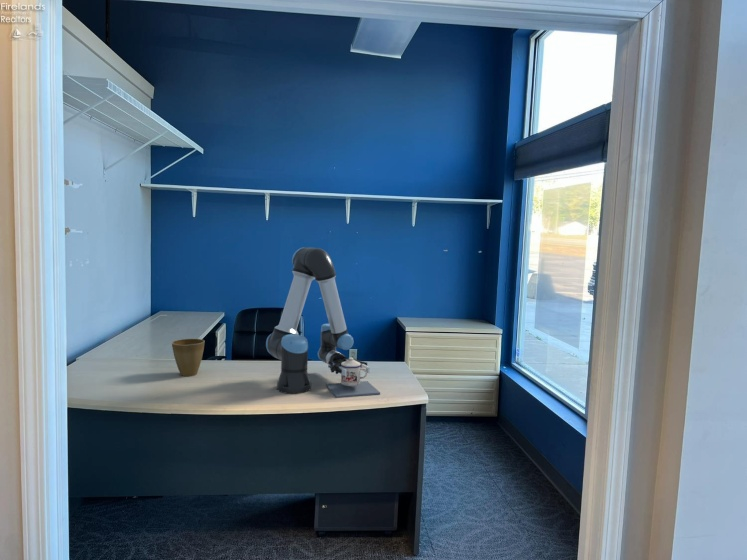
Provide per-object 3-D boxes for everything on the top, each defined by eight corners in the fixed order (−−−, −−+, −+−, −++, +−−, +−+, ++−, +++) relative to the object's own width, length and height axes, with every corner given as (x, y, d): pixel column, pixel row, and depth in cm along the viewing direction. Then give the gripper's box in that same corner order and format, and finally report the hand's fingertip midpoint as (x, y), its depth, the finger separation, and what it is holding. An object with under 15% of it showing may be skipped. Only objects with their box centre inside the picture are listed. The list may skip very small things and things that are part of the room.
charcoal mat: (336, 397, 225) (336, 395, 225) (326, 385, 242) (326, 383, 242) (380, 394, 231) (380, 392, 231) (367, 382, 248) (367, 381, 248)
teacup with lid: (338, 385, 233) (339, 360, 232) (342, 379, 242) (342, 355, 241) (365, 387, 231) (366, 361, 230) (368, 381, 240) (368, 356, 239)
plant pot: (205, 369, 263) (205, 338, 261) (203, 377, 248) (203, 344, 247) (173, 370, 259) (173, 338, 258) (169, 379, 245) (169, 345, 243)
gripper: (358, 365, 257) (380, 376, 238) (313, 370, 246) (333, 383, 227) (358, 350, 257) (380, 360, 238) (314, 354, 246) (333, 366, 226)
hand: (357, 371), depth 232 cm, fingers closed on teacup with lid, 11 cm apart
